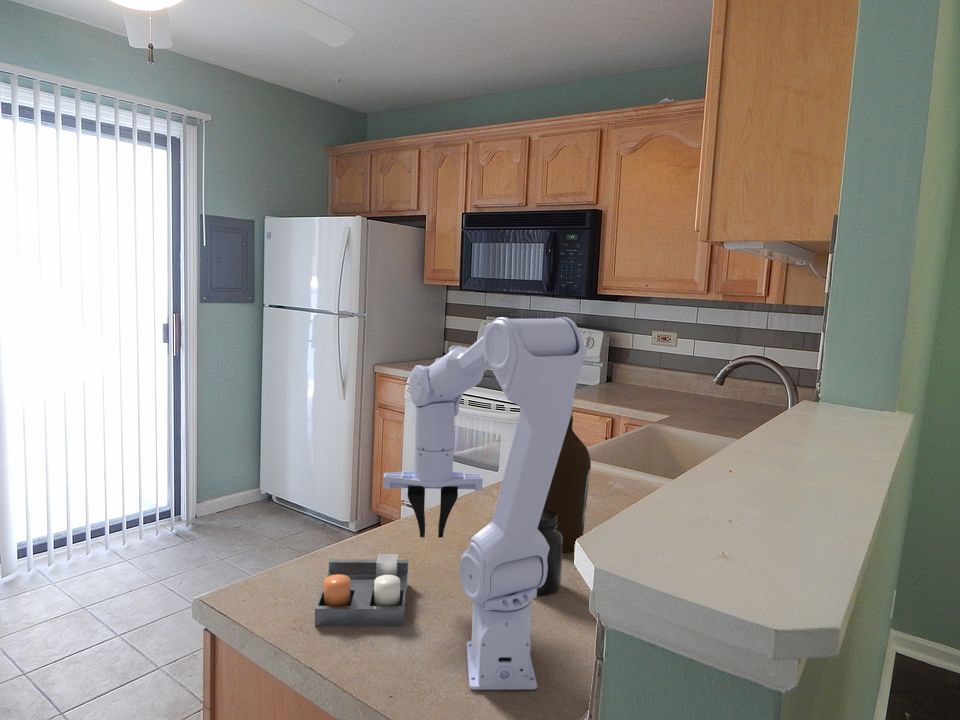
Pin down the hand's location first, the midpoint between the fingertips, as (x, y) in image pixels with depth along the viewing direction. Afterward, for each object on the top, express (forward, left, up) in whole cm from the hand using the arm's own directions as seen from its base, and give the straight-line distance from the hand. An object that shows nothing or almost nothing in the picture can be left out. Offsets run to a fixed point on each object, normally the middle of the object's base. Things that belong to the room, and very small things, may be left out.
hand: (431, 534), depth 97 cm
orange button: (-6, +13, -7) cm, 16 cm away
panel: (-3, +9, -9) cm, 14 cm away
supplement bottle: (+3, -17, -10) cm, 20 cm away
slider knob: (0, +6, -7) cm, 9 cm away
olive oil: (+20, -23, -10) cm, 32 cm away
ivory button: (-6, +6, -7) cm, 11 cm away
